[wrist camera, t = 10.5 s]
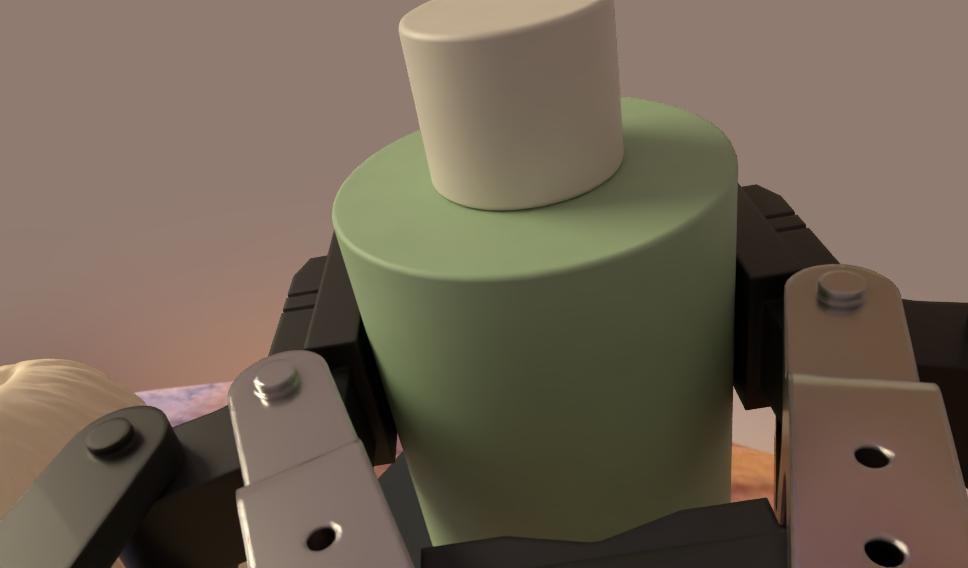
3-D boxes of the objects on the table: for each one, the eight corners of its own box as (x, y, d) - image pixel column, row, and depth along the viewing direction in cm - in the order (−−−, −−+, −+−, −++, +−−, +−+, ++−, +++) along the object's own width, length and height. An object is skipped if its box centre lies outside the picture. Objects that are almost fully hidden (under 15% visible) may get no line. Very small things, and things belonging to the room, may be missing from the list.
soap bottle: (751, 707, 18) (798, -64, 9) (677, 942, 14) (621, 93, 5) (564, 620, 20) (447, -41, 11) (465, 802, 17) (182, 72, 8)
